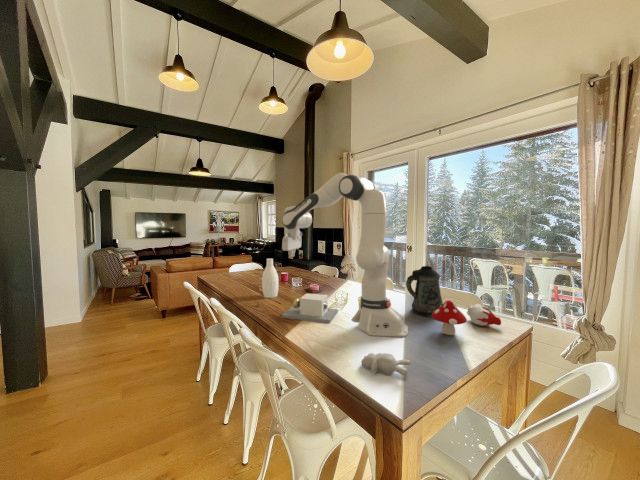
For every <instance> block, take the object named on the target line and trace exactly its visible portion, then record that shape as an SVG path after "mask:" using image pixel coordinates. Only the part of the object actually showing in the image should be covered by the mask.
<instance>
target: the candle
mask: <svg viewBox="0 0 640 480" xmlns="http://www.w3.org/2000/svg"><path fill="white" fill-rule="evenodd" d="M466 314H467V315H468V316H469V318H470V321H471V323H473V324H475V325H477V326H478V327H483V328H485V327H488V326H491V325H497V326H500V325H502V321H501V318H500V317H499V316H496V315H495V314H494V313H493V312H492V311H491V310H490V309H488V307H487V306H485V305H482V304H479V303H475V304H473V305H471V304H469V305H468V306H467V312H466Z"/></svg>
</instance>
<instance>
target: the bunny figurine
mask: <svg viewBox="0 0 640 480" xmlns="http://www.w3.org/2000/svg"><path fill="white" fill-rule="evenodd" d="M360 363H361V366H363V367H364V368H365V370H367V371H371V372H370V373H373V374H375V373H378V372H379V373H380V374H381V375H387V376H391V375H392V374H393V373H394V372H397V373H398V374H400V375H402V376H406V375H408V369H407V368H406V367H403V366H409V365H411V361H410V359H398V360H396V358H395V356H394V355H393V354H391V353H381V352H379V353H376V354H375V353H373V352H371V353H370V352H369V353H368V354H367V355H364V357H363V358H362V359H361V361H360Z"/></svg>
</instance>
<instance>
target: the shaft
mask: <svg viewBox="0 0 640 480" xmlns="http://www.w3.org/2000/svg"><path fill="white" fill-rule="evenodd" d="M292 307H294V308H299V307H300V298H297V297H296V298H294V299H293V302H292ZM327 308H328V302H327V303H324V309H327Z"/></svg>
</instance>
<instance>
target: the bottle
mask: <svg viewBox="0 0 640 480" xmlns="http://www.w3.org/2000/svg"><path fill="white" fill-rule="evenodd" d="M264 268H265V269H264V270H263V273H262V277H261V286H262V287H261V288H262V295H263V297H264V299H265V298H266V299H273V298H277V297H278V294H279V293H278V292H279V274H278V272H277V269H276V267H275V266H274V258H266V266H265V267H264Z"/></svg>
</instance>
